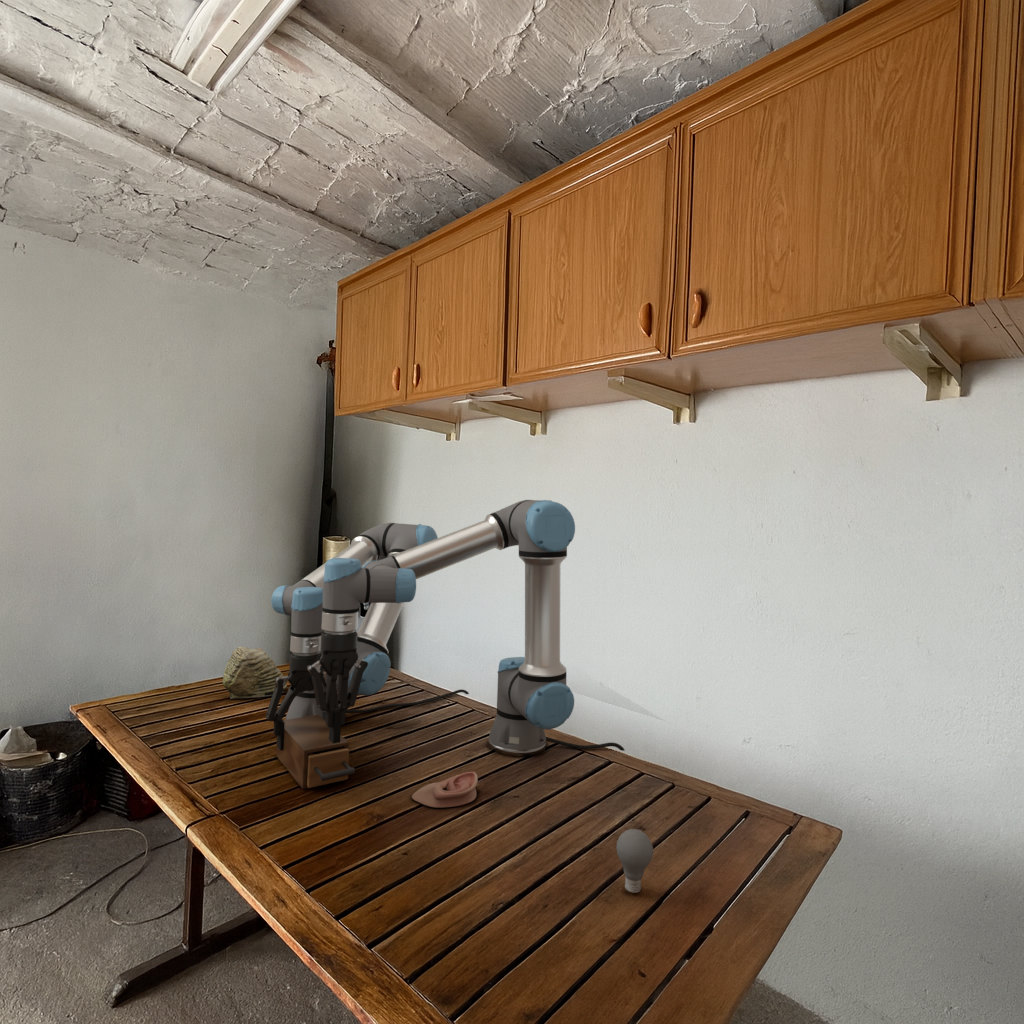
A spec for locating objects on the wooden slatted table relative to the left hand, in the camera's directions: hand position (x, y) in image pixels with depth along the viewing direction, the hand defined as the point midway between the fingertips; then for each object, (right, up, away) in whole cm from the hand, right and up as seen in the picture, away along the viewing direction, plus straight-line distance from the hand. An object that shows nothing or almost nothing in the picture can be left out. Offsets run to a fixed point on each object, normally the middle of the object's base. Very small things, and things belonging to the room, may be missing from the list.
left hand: (302, 744), depth 153 cm
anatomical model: (+36, -5, -16) cm, 40 cm away
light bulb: (+71, -7, -47) cm, 85 cm away
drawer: (+7, -3, -9) cm, 12 cm away
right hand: (+12, +7, -17) cm, 22 cm away
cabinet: (+3, -4, -5) cm, 7 cm away
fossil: (-30, -1, +45) cm, 54 cm away
